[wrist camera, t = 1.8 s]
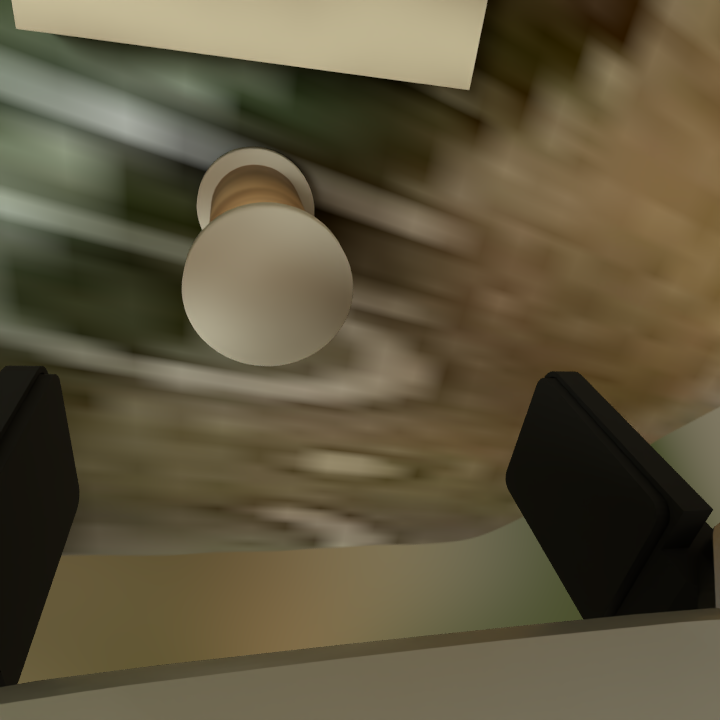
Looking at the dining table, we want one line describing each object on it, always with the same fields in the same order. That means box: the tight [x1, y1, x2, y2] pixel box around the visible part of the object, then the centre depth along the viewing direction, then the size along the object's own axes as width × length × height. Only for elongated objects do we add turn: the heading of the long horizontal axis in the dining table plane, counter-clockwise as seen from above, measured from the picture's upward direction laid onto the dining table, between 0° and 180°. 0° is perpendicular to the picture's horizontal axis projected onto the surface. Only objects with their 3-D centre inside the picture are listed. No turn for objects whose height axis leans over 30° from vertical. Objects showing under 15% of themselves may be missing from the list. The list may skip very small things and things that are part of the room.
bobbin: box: [182, 147, 353, 366], centre depth 21 cm, size 5×5×10 cm
